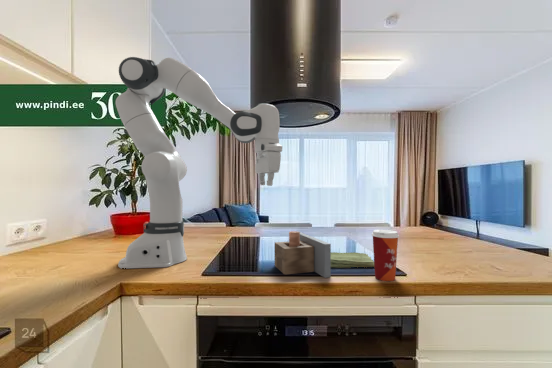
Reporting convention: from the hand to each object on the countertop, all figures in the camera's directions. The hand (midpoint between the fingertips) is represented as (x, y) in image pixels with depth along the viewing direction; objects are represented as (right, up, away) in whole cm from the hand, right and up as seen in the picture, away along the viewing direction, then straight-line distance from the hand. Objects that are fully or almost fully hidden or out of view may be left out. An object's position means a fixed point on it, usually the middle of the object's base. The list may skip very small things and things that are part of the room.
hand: (265, 185), depth 108 cm
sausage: (+10, -27, -12) cm, 31 cm away
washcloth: (+29, -28, -5) cm, 41 cm away
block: (+10, -27, -12) cm, 31 cm away
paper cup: (+36, -28, -22) cm, 51 cm away
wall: (+15, -27, -10) cm, 33 cm away
